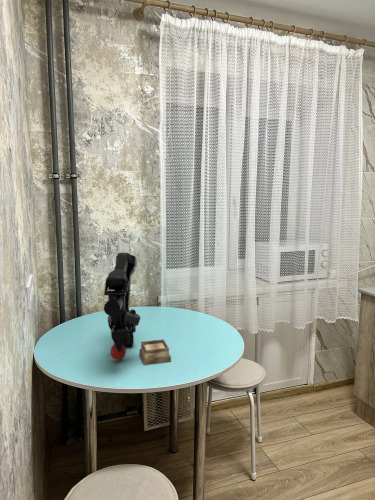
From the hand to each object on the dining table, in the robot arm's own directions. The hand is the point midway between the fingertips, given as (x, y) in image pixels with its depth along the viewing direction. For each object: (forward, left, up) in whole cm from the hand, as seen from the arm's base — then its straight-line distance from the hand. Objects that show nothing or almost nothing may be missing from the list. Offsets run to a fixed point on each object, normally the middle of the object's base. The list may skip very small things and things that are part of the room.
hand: (118, 346), depth 143 cm
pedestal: (+14, -1, -6) cm, 15 cm away
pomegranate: (0, 0, -6) cm, 6 cm away
